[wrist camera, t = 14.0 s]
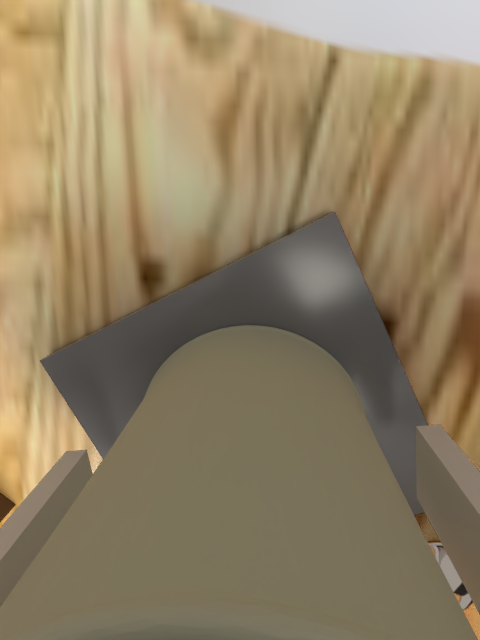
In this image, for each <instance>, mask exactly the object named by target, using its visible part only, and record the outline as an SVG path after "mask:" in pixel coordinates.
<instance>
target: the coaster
mask: <svg viewBox="0 0 480 640" xmlns="http://www.w3.org/2000/svg"><path fill="white" fill-rule="evenodd" d="M241 325H259V326H268V327H275V328H279V329H283V330H286V331H290V332H293V333H296V334H298V335H300V336H302V337H304V338H306V339H308V340H310V341H312V342H314V343H315V344H317V345H319V346H320V347H321V348H323V349H324V350H326V351H327V352H328V353H329V354H330V355H332V356H333V357H334V358H335V359H336V360H337V361H338V362H339V363H340V364H341V366H342V367H343V368H344V369H345V371H346V372H347V373H348V374H349V376H350V377H351V379H352V381H353V382H354V384H355V386H356V388H357V390H358V392H359V394H360V397H361V400H362V403H363V406H364V410H365V415H366V418H367V420H368V422H369V424H370V427H371V429H372V431H373V433H374V435H375V437H376V440H377V442H378V444H379V446H380V448H381V450H382V452H383V454H384V456H385V458H386V460H387V462H388V464H389V466H390V468H391V470H392V472H393V474H394V476H395V478H396V480H397V482H398V484H399V486H400V488H401V490H402V492H403V494H404V496H405V498H406V500H407V502H408V504H409V506H410V508H411V510H412V512H413V514H414V516H415V515H418V514H420V513H423V512H424V510H423V508H422V506H421V504H420V503H419V501H418V499H417V472H416V426H428V424H427V422H426V419H425V417H424V415H423V413H422V410H421V408H420V406H419V403H418V401H417V399H416V397H415V394H414V392H413V390H412V387H411V385H410V383H409V380H408V378H407V376H406V374H405V371H404V369H403V367H402V364H401V362H400V360H399V358H398V355H397V353H396V351H395V348H394V346H393V344H392V342H391V339H390V337H389V335H388V332H387V330H386V328H385V325H384V323H383V321H382V319H381V316H380V314H379V312H378V309H377V307H376V305H375V303H374V300H373V298H372V296H371V293H370V291H369V289H368V287H367V284H366V282H365V280H364V277H363V275H362V273H361V270H360V268H359V266H358V264H357V261H356V259H355V257H354V254H353V252H352V250H351V248H350V245H349V243H348V241H347V238H346V236H345V234H344V231H343V229H342V227H341V225H340V222H339V220H338V218H337V215H336V213H335V212H331V213H329V214H327V215H325V216H324V217H322V218H320V219H318V220H316V221H314V222H312V223H310V224H308V225H306V226H304V227H302V228H300V229H298V230H296V231H294V232H292V233H290V234H288V235H286V236H284V237H282V238H280V239H278V240H276V241H274V242H272V243H270V244H268V245H266V246H264V247H262V248H260V249H258V250H256V251H254V252H252V253H250V254H248V255H246V256H244V257H242V258H240V259H238V260H236V261H234V262H232V263H230V264H228V265H226V266H224V267H222V268H220V269H218V270H216V271H214V272H212V273H210V274H208V275H206V276H204V277H202V278H201V279H199V280H197V281H195V282H193V283H191V284H189V285H187V286H185V287H183V288H181V289H179V290H177V291H175V292H173V293H171V294H169V295H167V296H165V297H163V298H161V299H159V300H157V301H155V302H153V303H151V304H149V305H147V306H145V307H143V308H141V309H139V310H137V311H135V312H133V313H131V314H129V315H127V316H125V317H123V318H121V319H119V320H117V321H115V322H113V323H111V324H109V325H107V326H105V327H103V328H101V329H99V330H97V331H95V332H93V333H91V334H89V335H87V336H85V337H83V338H81V339H80V340H78V341H76V342H74V343H72V344H70V345H68V346H66V347H64V348H62V349H60V350H58V351H56V352H54V353H52V354H50V355H48V356H47V357H45V358H43V359H42V360H40V362H41V363H42V365H43V366H44V368H45V370H46V371H47V373H48V374H49V376H50V377H51V379H52V380H53V382H54V384H55V385H56V387H57V388H58V390H59V391H60V393H61V394H62V396H63V397H64V399H65V401H66V402H67V404H68V405H69V407H70V408H71V410H72V411H73V413H74V415H75V416H76V418H77V419H78V421H79V422H80V424H81V425H82V427H83V428H84V430H85V432H86V433H87V435H88V436H89V438H90V439H91V441H92V442H93V444H94V446H95V447H96V449H97V450H98V452H99V453H100V455H101V456H102V458H103V459H104V458H105V456H106V455H107V453H108V452H109V450H110V449H111V447H112V446H113V444H114V443H115V442H116V440H117V438H118V437H119V435H120V434H121V432H122V431H123V429H124V428H125V426H126V425H127V423H128V422H129V420H130V419H131V417H132V416H133V414H134V413H135V411H136V410H137V408H138V407H139V405H140V404H141V402H142V401H143V399H144V397H145V394H146V391H147V389H148V387H149V384H150V383H151V381H152V379H153V377H154V375H155V374H156V372H157V371H158V369H159V368H160V367H161V365H162V364H163V363H164V362H165V361H166V360H167V359H168V358H169V357H170V356H171V355H172V354H173V353H174V352H175V351H176V350H178V349H179V348H180V347H182V346H183V345H185V344H186V343H188V342H189V341H191V340H193V339H195V338H197V337H199V336H201V335H203V334H206V333H208V332H211V331H214V330H218V329H221V328H226V327H231V326H241Z"/></svg>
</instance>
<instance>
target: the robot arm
mask: <svg viewBox="0 0 480 640" xmlns="http://www.w3.org/2000/svg"><path fill="white" fill-rule="evenodd" d="M416 472H417V499H418V501H419V503H420V504H421V506H422V508H423V510H424V512H425V514H426V516H427V517H428V519H429V521H430V523H431V525H432V527H433V529H434V530H435V532H436V534H437V536H438V538H439V540H440V542H441V543H442V545H443V547H444V549H445V551H446V553H447V555H448V556H449V558H450V560H451V562H452V564H453V566H454V568H455V570H456V571H457V573H458V575H459V577H460V579H461V581H462V583H463V584H464V586H465V588H466V590H467V592H468V594H469V596H470V597H471V599H472V601H473V603H474V605H475V607H476V609H477V610H478V612H479V614H480V472H479V470H478V469H477V468H476V467H475V466H474V464H473V463H472V462H471V461H470V460H469V458H468V457H467V456H466V455H465V454H464V453H463V451H462V450H461V449H460V448H459V447H458V445H457V444H456V443H455V442H454V441H453V439H452V438H451V437H450V436H449V435H448V434H447V432H446V431H445V430H444V429H443V428H442V426H441V425H428V426H416ZM92 475H93V474H92V470H91V466H90V462H89V458H88V453H87V450H78V451H66V452H65V453H64V455H63V456H62V457H61V458H60V459H59V460H58V462H57V463H56V464H55V465H54V466H53V467H52V469H51V470H50V471H49V472H48V473H47V474H46V476H45V477H44V478H43V479H42V480H41V481H40V482H39V484H38V485H37V486H36V487H35V488H34V489H33V491H32V492H31V493H30V494H29V495H28V496H27V498H26V499H25V500H24V501H23V502H22V503H21V505H20V506H19V507H18V508H17V509H16V510H15V512H14V513H13V514H12V515H11V516H10V517H9V518H8V520H7V521H6V522H5V523H4V524H3V525H2V527H1V528H0V607H1V605H2V604H3V603H4V601H5V600H6V598H7V597H8V595H9V594H10V593H11V591H12V590H13V588H14V587H15V586H16V584H17V583H18V581H19V580H20V578H21V577H22V576H23V574H24V573H25V571H26V570H27V569H28V567H29V566H30V564H31V563H32V562H33V560H34V559H35V557H36V556H37V554H38V553H39V552H40V550H41V549H42V547H43V546H44V545H45V543H46V542H47V540H48V539H49V537H50V536H51V535H52V533H53V532H54V530H55V529H56V527H57V526H58V524H59V523H60V521H61V520H62V519H63V517H64V516H65V514H66V513H67V511H68V510H69V508H70V507H71V505H72V504H73V503H74V501H75V500H76V498H77V497H78V495H79V494H80V492H81V491H82V489H83V488H84V487H85V485H86V484H87V482H88V481H89V479H90V478H91V476H92Z"/></svg>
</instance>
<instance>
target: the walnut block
mask: <svg viewBox="0 0 480 640" xmlns="http://www.w3.org/2000/svg"><path fill="white" fill-rule="evenodd" d="M14 506H15V504H14V503H13V502H12V501H10V500H9V499H8V498H7V497H5V496H4V495H3V494H1V493H0V522H1V521H2V520H3V519H4V517H5V516H6V515H7V514H8V513H9V512H10V511H11V509H12V508H13V507H14Z"/></svg>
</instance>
